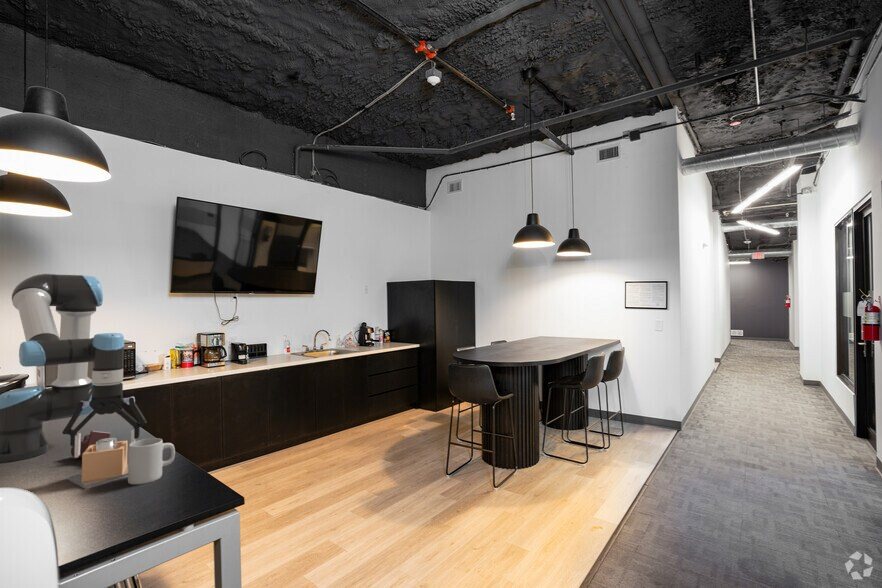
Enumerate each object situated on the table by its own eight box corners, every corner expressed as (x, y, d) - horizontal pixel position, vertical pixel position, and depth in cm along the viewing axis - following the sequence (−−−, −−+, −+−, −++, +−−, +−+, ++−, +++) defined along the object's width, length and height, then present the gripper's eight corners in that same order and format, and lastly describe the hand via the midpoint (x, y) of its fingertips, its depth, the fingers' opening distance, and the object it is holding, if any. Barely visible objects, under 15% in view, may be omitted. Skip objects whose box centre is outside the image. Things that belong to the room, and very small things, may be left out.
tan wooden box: (81, 482, 123) (82, 454, 123) (89, 471, 131) (89, 445, 131) (122, 475, 127) (122, 448, 128) (127, 465, 136) (127, 440, 136)
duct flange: (68, 480, 126) (69, 443, 127) (123, 465, 138) (123, 431, 139) (85, 489, 120) (86, 450, 121) (140, 472, 132) (141, 437, 133)
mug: (131, 487, 121) (132, 448, 122) (124, 479, 127) (125, 442, 127) (178, 475, 130) (179, 439, 130) (170, 468, 136) (171, 433, 136)
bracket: (101, 458, 137) (109, 427, 142) (65, 464, 142) (74, 433, 146) (120, 460, 142) (127, 429, 147) (84, 465, 147) (93, 435, 151)
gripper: (50, 389, 121) (48, 463, 120) (154, 382, 133) (153, 449, 133) (58, 384, 128) (56, 455, 127) (157, 378, 140) (155, 442, 139)
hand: (105, 452), depth 130 cm, fingers open, 13 cm apart
